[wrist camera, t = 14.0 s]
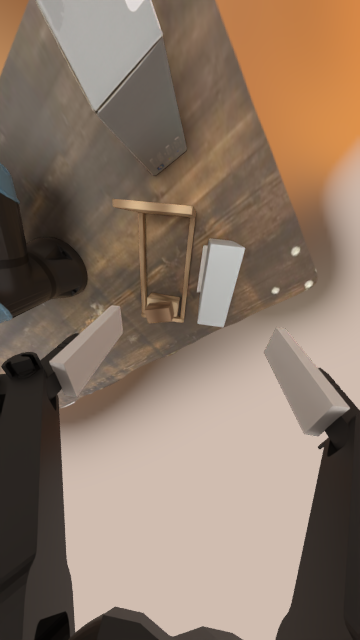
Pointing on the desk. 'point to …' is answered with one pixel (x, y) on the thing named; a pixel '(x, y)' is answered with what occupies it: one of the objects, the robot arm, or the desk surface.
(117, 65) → the hard drive box
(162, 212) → the rack
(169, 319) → the offcut upper
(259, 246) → the desk surface
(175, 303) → the offcut lower
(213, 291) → the grey rectangular block
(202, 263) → the mat
